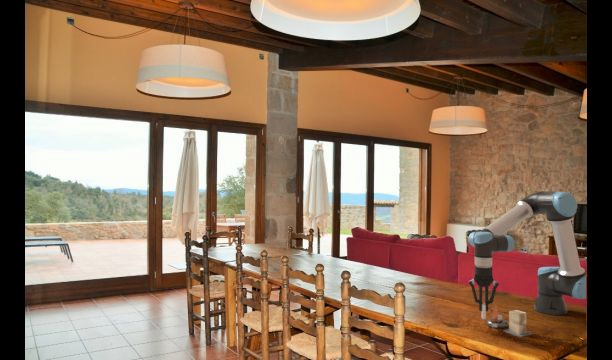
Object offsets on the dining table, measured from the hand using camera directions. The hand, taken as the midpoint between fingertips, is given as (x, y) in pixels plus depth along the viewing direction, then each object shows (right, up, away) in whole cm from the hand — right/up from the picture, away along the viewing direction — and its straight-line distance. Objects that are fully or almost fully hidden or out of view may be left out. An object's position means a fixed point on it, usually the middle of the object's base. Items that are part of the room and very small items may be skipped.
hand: (483, 318), depth 201 cm
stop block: (+15, -6, -2) cm, 16 cm away
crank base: (+10, -6, +8) cm, 14 cm away
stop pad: (+15, -6, -2) cm, 16 cm away
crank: (+7, -4, +4) cm, 9 cm away
